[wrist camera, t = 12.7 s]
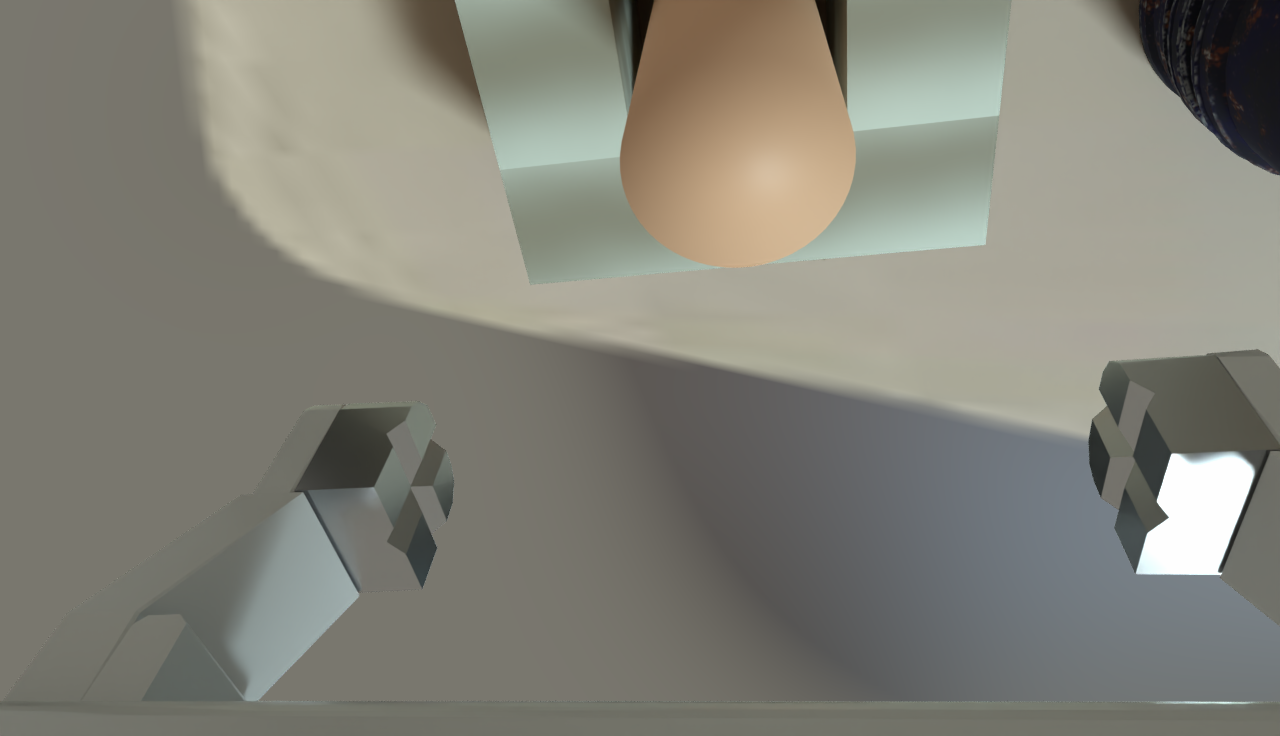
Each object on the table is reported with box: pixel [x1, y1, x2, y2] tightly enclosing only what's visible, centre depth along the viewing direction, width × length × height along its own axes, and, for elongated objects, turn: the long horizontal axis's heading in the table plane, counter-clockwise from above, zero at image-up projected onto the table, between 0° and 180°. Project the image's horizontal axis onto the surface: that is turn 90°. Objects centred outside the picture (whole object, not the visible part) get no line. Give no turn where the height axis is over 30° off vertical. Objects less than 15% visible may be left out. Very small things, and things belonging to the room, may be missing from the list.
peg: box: [620, 0, 856, 268], centre depth 22 cm, size 4×4×14 cm
